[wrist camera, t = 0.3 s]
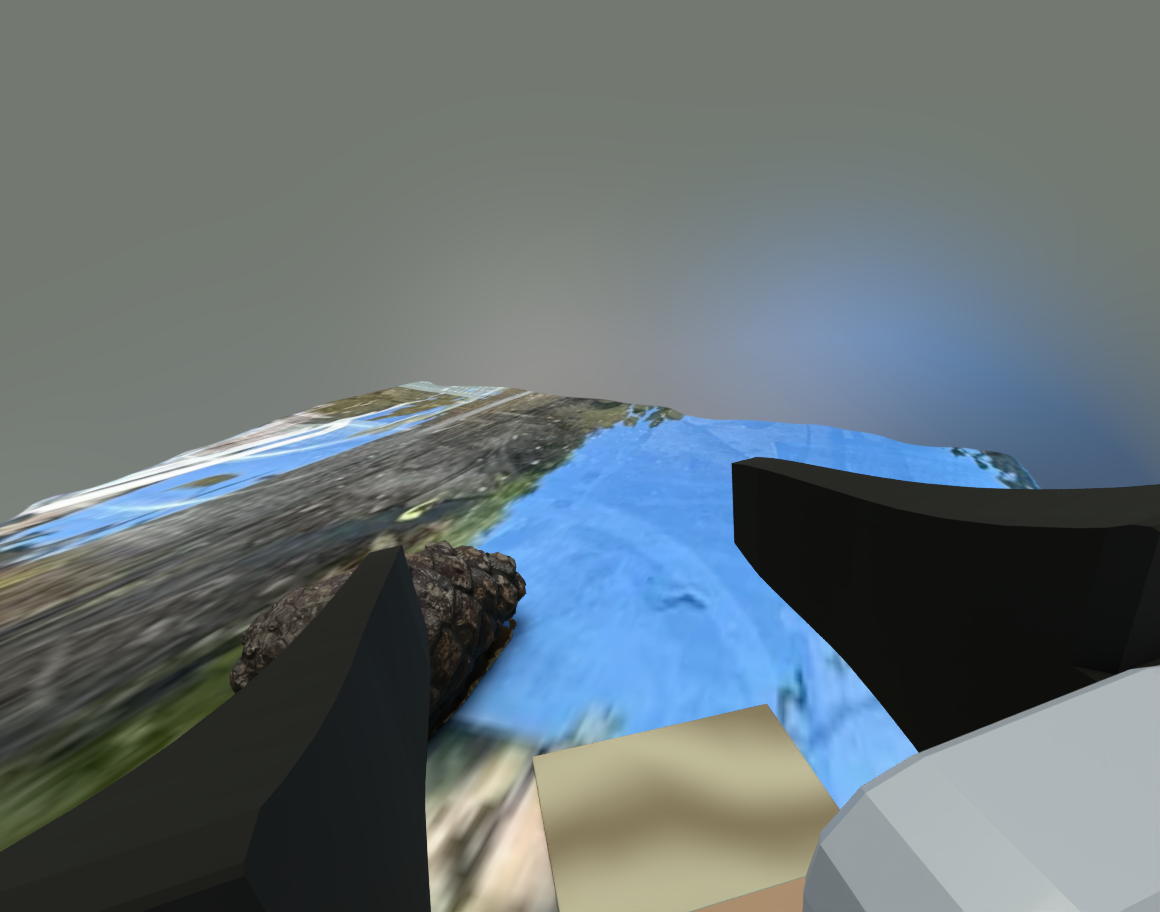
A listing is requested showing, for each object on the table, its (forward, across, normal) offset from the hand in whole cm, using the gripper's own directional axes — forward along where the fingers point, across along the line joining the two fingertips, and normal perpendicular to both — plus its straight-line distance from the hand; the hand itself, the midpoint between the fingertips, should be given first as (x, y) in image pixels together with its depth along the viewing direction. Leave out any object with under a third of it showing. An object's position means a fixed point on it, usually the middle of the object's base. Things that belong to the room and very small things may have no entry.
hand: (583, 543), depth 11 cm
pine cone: (+20, +9, +19) cm, 29 cm away
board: (+6, -4, +21) cm, 22 cm away
